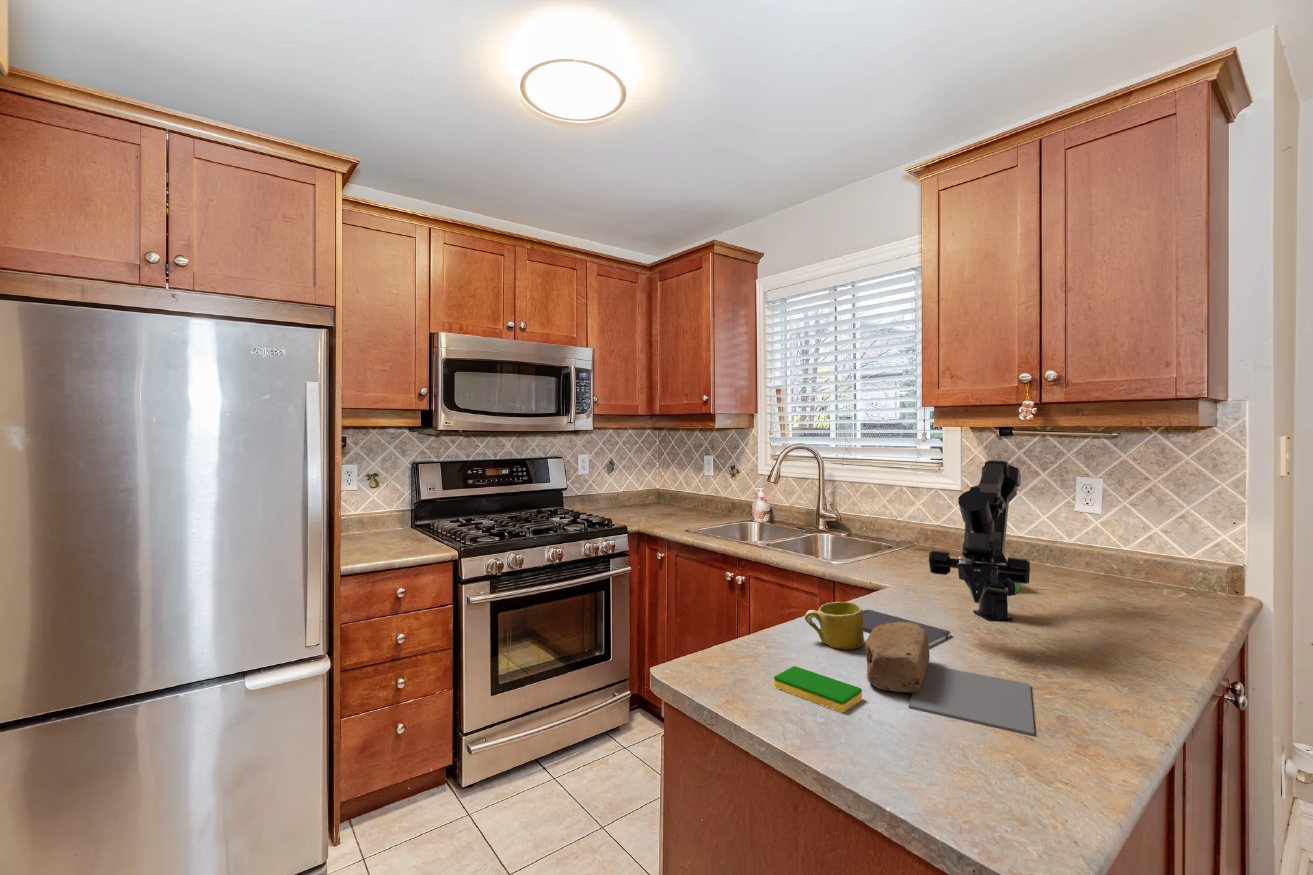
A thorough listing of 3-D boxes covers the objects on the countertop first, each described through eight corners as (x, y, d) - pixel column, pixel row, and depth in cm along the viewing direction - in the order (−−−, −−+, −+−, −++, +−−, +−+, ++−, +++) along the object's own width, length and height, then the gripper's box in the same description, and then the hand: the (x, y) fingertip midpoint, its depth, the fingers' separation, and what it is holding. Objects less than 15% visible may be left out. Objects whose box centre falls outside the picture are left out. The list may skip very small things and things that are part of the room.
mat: (923, 665, 118) (923, 663, 118) (1029, 685, 109) (1030, 683, 109) (908, 707, 101) (908, 705, 101) (1034, 735, 92) (1034, 733, 92)
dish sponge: (842, 715, 99) (842, 701, 99) (772, 689, 109) (772, 676, 109) (862, 701, 104) (862, 688, 104) (794, 677, 114) (794, 665, 114)
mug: (869, 628, 134) (860, 590, 131) (870, 658, 125) (860, 618, 122) (815, 631, 139) (805, 595, 136) (811, 661, 129) (800, 622, 127)
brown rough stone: (930, 623, 120) (921, 657, 102) (931, 659, 120) (923, 701, 102) (873, 617, 125) (856, 649, 108) (875, 652, 125) (857, 690, 108)
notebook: (838, 625, 143) (924, 652, 126) (838, 619, 143) (924, 644, 126) (867, 615, 151) (952, 638, 134) (867, 608, 151) (952, 631, 134)
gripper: (929, 513, 131) (923, 575, 121) (1029, 520, 121) (1031, 587, 112) (933, 542, 138) (928, 602, 129) (1028, 550, 128) (1029, 616, 119)
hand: (976, 601), depth 122 cm, fingers closed
